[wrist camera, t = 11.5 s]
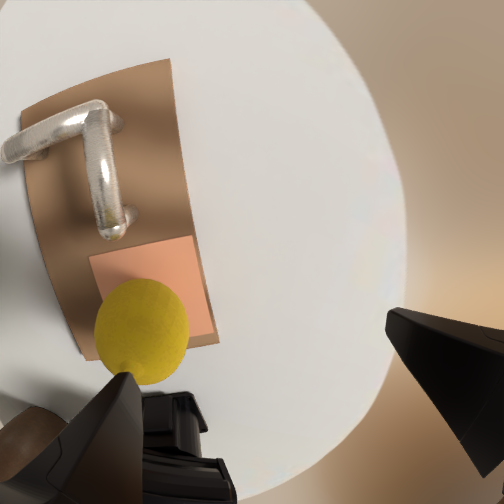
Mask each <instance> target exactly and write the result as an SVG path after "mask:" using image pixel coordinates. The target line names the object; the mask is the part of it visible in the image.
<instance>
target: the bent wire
mask: <svg viewBox="0 0 504 504" xmlns="http://www.w3.org/2000/svg"><path fill="white" fill-rule="evenodd" d="M123 128H124V120H123V119H122V118H121V117H120V116H118V115H117V114H115V113H114V112H112V111H111V110H109V107H108V105H107V104H106V103H105V102H104V101H102V100H99V99H95V100H91V101H89V102H86V103H83V104H80V105H78V106H75V107H73V108H70V109H68V110H65V111H63V112H60V113H58V114H56V115H53V116H51V117H49V118H47V119H45V120H42V121H40V122H38V123H36V124H34V125H32V126H30V127H28V128H26V129H24V130H22V131H21V132H19V133H17V134H15V135H13V136H11V137H10V138H8V139H7V140H5V142H4V143H3V145H2V147H1V151H0V154H1V158H2V160H3V161H4V162H5V163H8V164H11V163H14V162H16V161H18V160H44V159H45V158H46V157H47V156H48V154H49V146H51V145H53V144H56V143H58V142H61V141H63V140H66V139H69V138H71V137H74V136H77V135H79V134H82V141H83V150H84V158H85V165H86V172H87V178H88V184H89V189H90V195H91V200H92V205H93V210H94V214H95V219H96V223H97V227H98V231H99V233H100V235H101V236H102V237H103V238H104V239H105V240H107V241H117V240H119V239H121V238H122V237H123V236H124V234H125V232H126V229H127V227H129V226H130V225H131V224H132V223H133V222H134V221H136V220H137V218H138V215H139V212H138V209H137V207H136V206H134V205H131V204H129V205H126V206H124V207H123V202H122V197H121V192H120V186H119V181H118V175H117V169H116V162H115V156H114V148H113V140H112V134H117V133H119V132H121V131H122V130H123Z"/></svg>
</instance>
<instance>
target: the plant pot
mask: <svg viewBox="0 0 504 504" xmlns="http://www.w3.org/2000/svg"><path fill="white" fill-rule="evenodd" d="M67 425H68V424H67V423H66V422H65V421H64V420H62V419H61V418H60V417H58V416H57V415H55V414H53V413H52V412H50V411H48V410H46V409H43V408H40V407H30V408H28V409H27V410H25V411H24V412H22V413H21V414H19V415H18V416H17V417H15V418H14V419H12V420H11V421H10V422H9V423H8V424H6V425H5V426H4V427H3V428H2V429H1V430H0V482H3V481H6V480H8V479H10V478H12V477H13V476H14V475H15V474H16V473H18V472H19V471H20V470H21V469H22V468H23V467H25V466H26V465H27V464H28V463H29V462H31V461H32V460H33V459H34V458H35V457H36V456H37V455H38V454H40V453H41V452H42V451H43V450H44V449H45V448H46V447H47V446H48V445H49V444H50V443H51V442H52V441H53V440H54V439H55V438H56V436H59V433H60V432H61V431H62V430H63V429H64V428H65V427H66V426H67Z"/></svg>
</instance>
